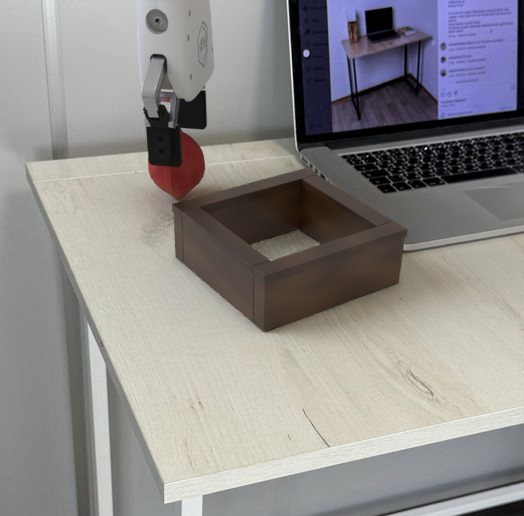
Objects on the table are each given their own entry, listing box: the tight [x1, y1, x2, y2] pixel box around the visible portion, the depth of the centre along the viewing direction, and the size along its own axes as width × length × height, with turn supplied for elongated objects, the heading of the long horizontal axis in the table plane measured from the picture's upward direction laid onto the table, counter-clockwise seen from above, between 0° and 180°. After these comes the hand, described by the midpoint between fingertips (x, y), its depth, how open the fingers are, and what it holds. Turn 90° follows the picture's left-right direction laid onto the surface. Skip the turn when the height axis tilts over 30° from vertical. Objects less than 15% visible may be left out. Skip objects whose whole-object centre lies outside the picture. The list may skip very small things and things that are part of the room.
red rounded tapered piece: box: [147, 129, 206, 200], centre depth 89 cm, size 6×6×8 cm
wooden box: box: [171, 167, 408, 333], centre depth 78 cm, size 15×15×5 cm
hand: (179, 145), depth 88 cm, fingers open, 9 cm apart
